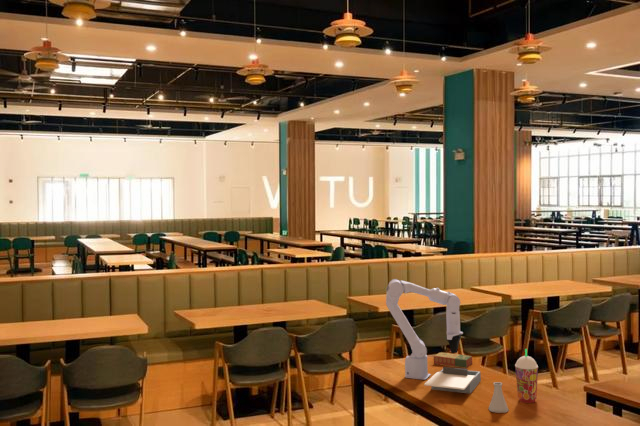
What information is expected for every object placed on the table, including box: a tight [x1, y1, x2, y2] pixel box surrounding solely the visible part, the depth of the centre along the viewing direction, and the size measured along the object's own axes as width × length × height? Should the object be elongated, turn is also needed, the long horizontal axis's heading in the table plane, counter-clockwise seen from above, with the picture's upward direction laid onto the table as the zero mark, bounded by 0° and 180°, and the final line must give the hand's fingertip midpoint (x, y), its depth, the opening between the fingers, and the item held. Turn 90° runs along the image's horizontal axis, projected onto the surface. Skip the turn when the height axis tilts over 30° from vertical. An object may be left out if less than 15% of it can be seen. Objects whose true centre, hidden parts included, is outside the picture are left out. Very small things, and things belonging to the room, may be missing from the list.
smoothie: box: [514, 348, 539, 404], centre depth 244 cm, size 8×8×20 cm
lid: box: [424, 366, 475, 390], centre depth 258 cm, size 16×18×3 cm
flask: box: [488, 381, 509, 414], centre depth 235 cm, size 7×7×10 cm
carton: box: [433, 351, 473, 369], centre depth 299 cm, size 8×16×4 cm, turn 58°
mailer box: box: [430, 368, 482, 395], centre depth 267 cm, size 16×18×4 cm
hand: (454, 352), depth 279 cm, fingers closed
